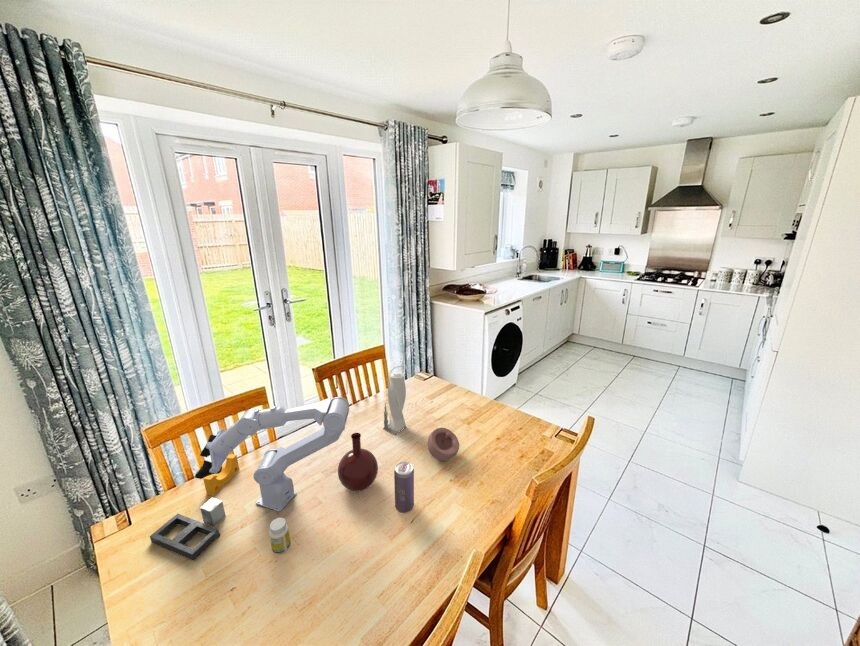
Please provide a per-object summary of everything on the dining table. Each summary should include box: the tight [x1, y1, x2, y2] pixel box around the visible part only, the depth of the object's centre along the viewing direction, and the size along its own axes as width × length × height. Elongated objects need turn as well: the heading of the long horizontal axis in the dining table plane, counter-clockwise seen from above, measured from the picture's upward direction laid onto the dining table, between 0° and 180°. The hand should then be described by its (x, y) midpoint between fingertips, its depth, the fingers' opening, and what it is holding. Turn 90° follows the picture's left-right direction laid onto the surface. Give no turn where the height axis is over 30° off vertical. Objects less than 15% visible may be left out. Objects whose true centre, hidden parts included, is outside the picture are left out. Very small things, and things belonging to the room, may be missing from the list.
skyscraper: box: [382, 365, 407, 436], centre depth 144 cm, size 8×8×28 cm
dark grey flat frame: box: [149, 513, 221, 562], centre depth 97 cm, size 16×8×2 cm, turn 71°
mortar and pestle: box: [426, 427, 460, 462], centre depth 129 cm, size 12×12×11 cm
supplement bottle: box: [269, 517, 292, 555], centre depth 94 cm, size 5×5×8 cm
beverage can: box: [393, 461, 415, 514], centre depth 107 cm, size 6×6×15 cm
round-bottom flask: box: [337, 432, 379, 492], centre depth 114 cm, size 13×13×20 cm
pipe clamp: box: [202, 453, 240, 496], centre depth 117 cm, size 12×4×6 cm, turn 170°
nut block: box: [199, 497, 227, 528], centre depth 103 cm, size 4×4×6 cm
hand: (200, 466), depth 105 cm, fingers open, 7 cm apart
